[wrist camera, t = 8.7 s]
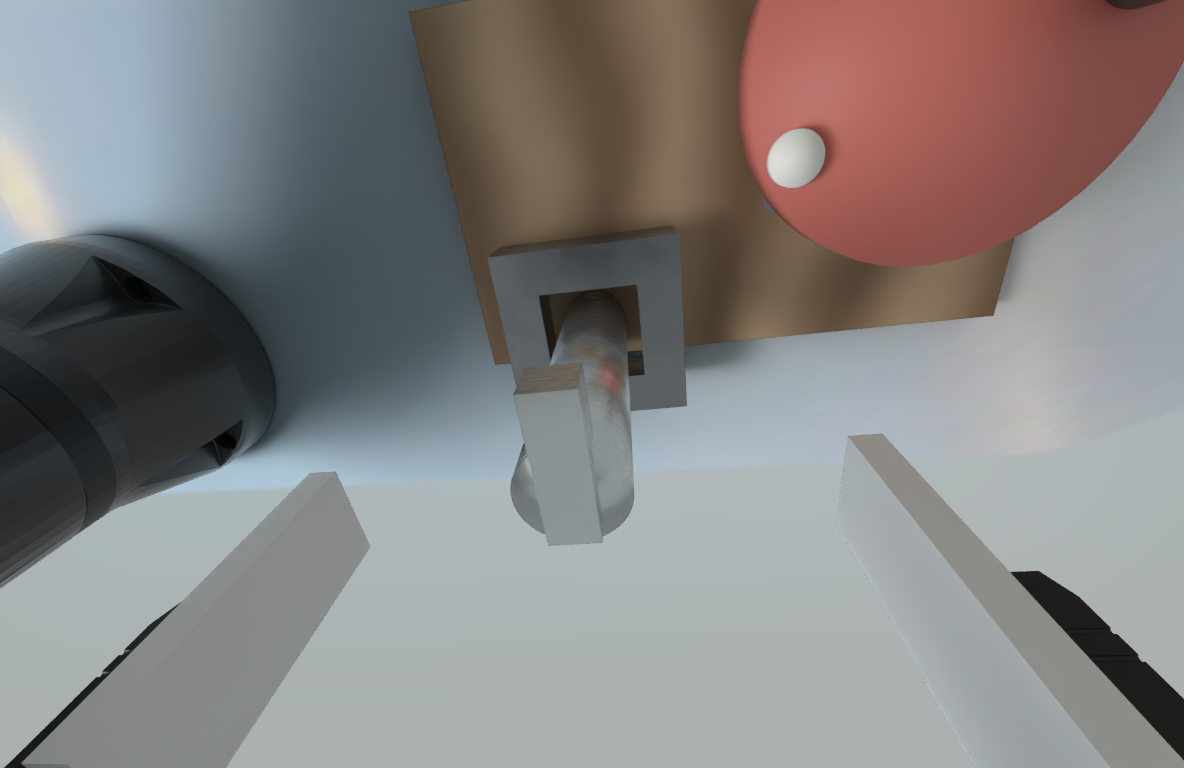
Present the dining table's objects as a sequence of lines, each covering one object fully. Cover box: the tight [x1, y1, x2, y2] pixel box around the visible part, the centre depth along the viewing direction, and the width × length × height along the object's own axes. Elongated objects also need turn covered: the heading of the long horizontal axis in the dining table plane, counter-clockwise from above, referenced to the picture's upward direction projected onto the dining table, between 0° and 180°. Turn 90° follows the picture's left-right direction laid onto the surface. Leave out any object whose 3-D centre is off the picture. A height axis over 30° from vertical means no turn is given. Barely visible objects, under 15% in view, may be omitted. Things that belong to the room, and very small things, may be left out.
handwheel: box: [737, 0, 1184, 267], centre depth 11 cm, size 13×13×12 cm
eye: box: [487, 226, 687, 411], centre depth 23 cm, size 9×9×2 cm
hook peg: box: [511, 290, 634, 546], centre depth 17 cm, size 3×5×15 cm, turn 7°
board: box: [409, 0, 1014, 365], centre depth 20 cm, size 26×16×4 cm, turn 97°
